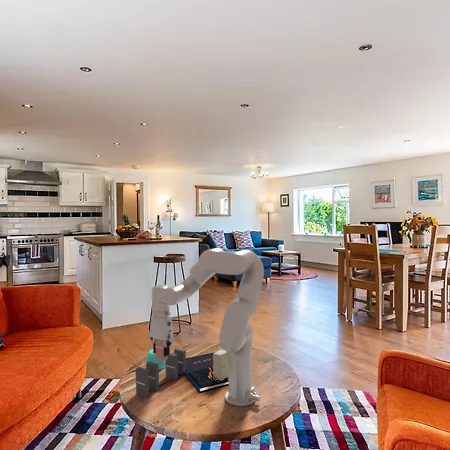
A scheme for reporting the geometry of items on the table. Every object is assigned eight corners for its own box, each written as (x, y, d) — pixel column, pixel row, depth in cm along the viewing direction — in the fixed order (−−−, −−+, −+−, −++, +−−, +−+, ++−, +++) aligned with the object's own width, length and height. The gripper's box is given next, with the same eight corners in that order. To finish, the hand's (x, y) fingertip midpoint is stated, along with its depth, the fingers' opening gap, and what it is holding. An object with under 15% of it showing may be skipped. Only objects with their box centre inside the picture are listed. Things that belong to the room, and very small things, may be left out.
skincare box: (220, 382, 152) (220, 355, 152) (213, 380, 155) (212, 353, 155) (229, 377, 157) (228, 351, 157) (221, 374, 160) (221, 348, 160)
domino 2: (149, 386, 150) (149, 361, 150) (159, 389, 147) (158, 364, 147) (146, 388, 148) (146, 363, 148) (156, 391, 145) (155, 366, 145)
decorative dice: (145, 369, 167) (145, 353, 167) (154, 362, 175) (153, 347, 174) (160, 371, 165) (160, 355, 164) (168, 364, 172) (168, 348, 172)
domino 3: (158, 356, 155) (158, 332, 154) (167, 359, 152) (167, 335, 151) (155, 358, 153) (155, 333, 153) (164, 361, 150) (164, 336, 150)
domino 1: (139, 392, 145) (138, 366, 145) (149, 396, 142) (148, 369, 142) (136, 394, 143) (135, 368, 143) (145, 398, 140) (145, 371, 140)
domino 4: (168, 375, 160) (168, 352, 160) (177, 378, 157) (177, 354, 157) (165, 377, 158) (165, 353, 158) (175, 380, 155) (174, 356, 155)
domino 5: (177, 370, 165) (176, 347, 165) (186, 373, 162) (185, 350, 162) (174, 372, 164) (174, 349, 163) (183, 374, 160) (183, 351, 160)
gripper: (181, 314, 150) (181, 355, 151) (153, 308, 160) (153, 347, 160) (169, 318, 144) (170, 361, 145) (140, 312, 153) (141, 352, 154)
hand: (161, 353), depth 152 cm, fingers closed on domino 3, 5 cm apart
